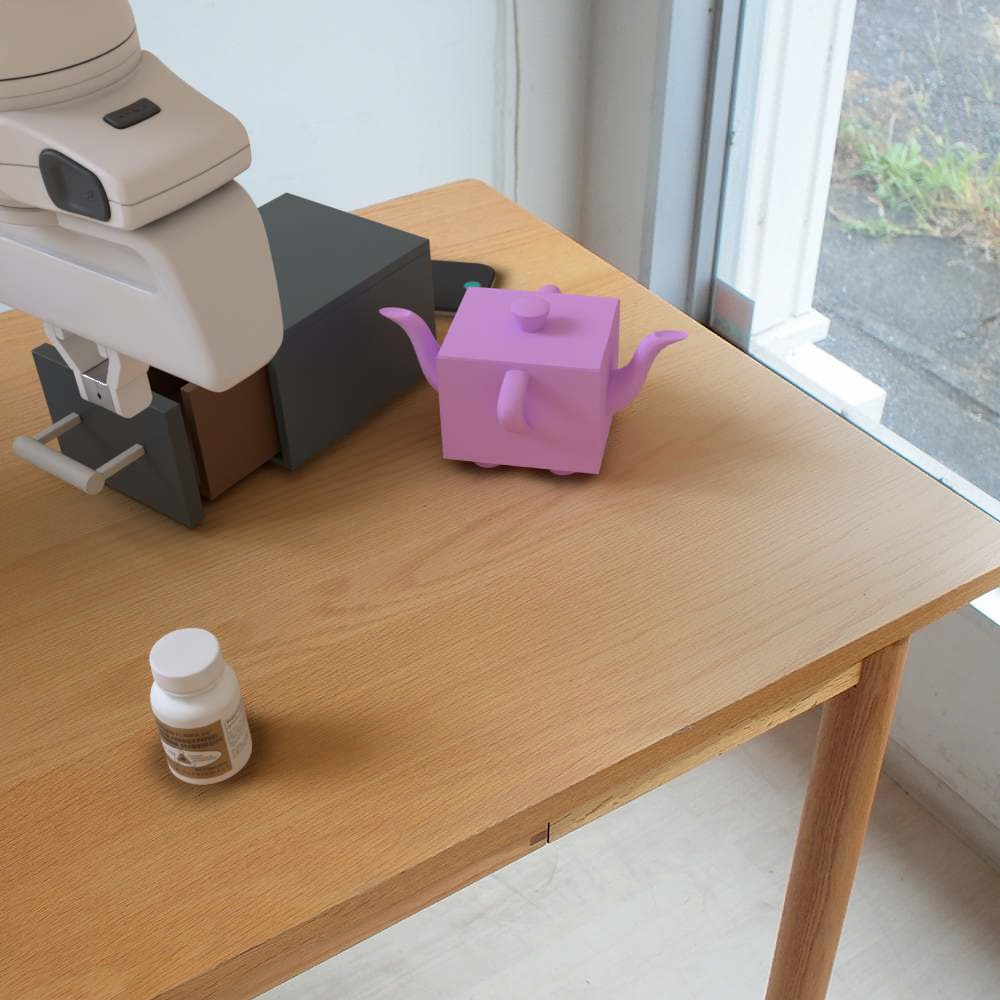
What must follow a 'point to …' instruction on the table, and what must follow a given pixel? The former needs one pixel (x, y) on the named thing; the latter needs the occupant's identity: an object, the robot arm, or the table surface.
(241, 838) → the table surface
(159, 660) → the pill bottle
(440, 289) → the smartphone
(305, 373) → the cabinet
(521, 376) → the teapot
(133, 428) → the drawer
